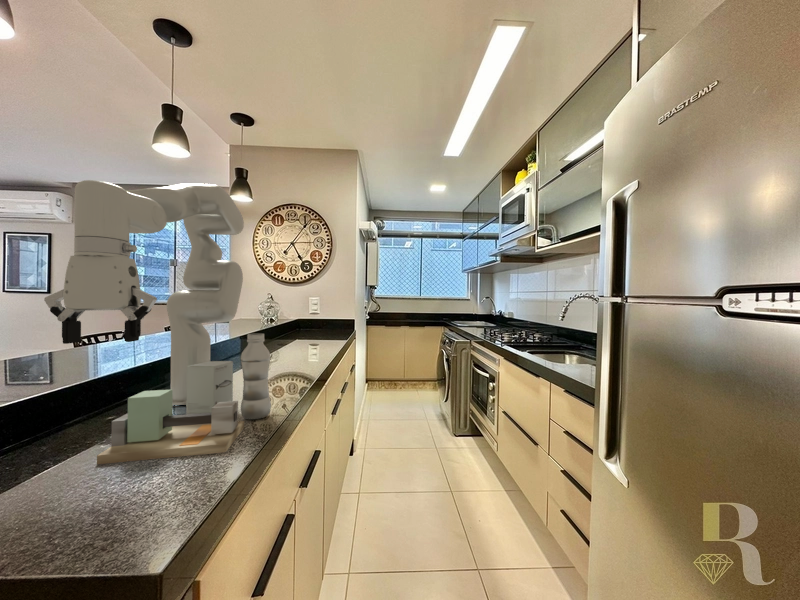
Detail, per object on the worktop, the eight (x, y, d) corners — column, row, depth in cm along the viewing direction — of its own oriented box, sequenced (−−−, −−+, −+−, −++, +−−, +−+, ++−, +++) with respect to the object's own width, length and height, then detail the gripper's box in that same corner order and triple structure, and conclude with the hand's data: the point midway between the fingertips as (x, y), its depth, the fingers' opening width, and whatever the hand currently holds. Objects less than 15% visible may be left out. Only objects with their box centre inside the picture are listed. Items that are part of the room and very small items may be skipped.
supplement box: (213, 419, 74) (213, 365, 75) (185, 418, 75) (185, 365, 76) (233, 409, 82) (233, 360, 82) (207, 408, 83) (207, 360, 83)
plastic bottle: (260, 423, 71) (260, 335, 72) (233, 421, 73) (234, 335, 73) (276, 414, 78) (276, 333, 78) (252, 412, 79) (252, 332, 79)
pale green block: (143, 431, 62) (144, 391, 62) (172, 429, 63) (172, 389, 63) (127, 442, 57) (127, 398, 57) (158, 439, 58) (158, 396, 58)
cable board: (139, 436, 65) (140, 401, 65) (244, 427, 69) (244, 395, 69) (96, 464, 53) (97, 422, 53) (225, 452, 57) (225, 413, 57)
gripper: (165, 254, 64) (165, 338, 64) (64, 252, 61) (63, 341, 61) (144, 248, 57) (143, 342, 57) (27, 245, 53) (26, 346, 53)
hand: (102, 341), depth 59 cm, fingers open, 9 cm apart
